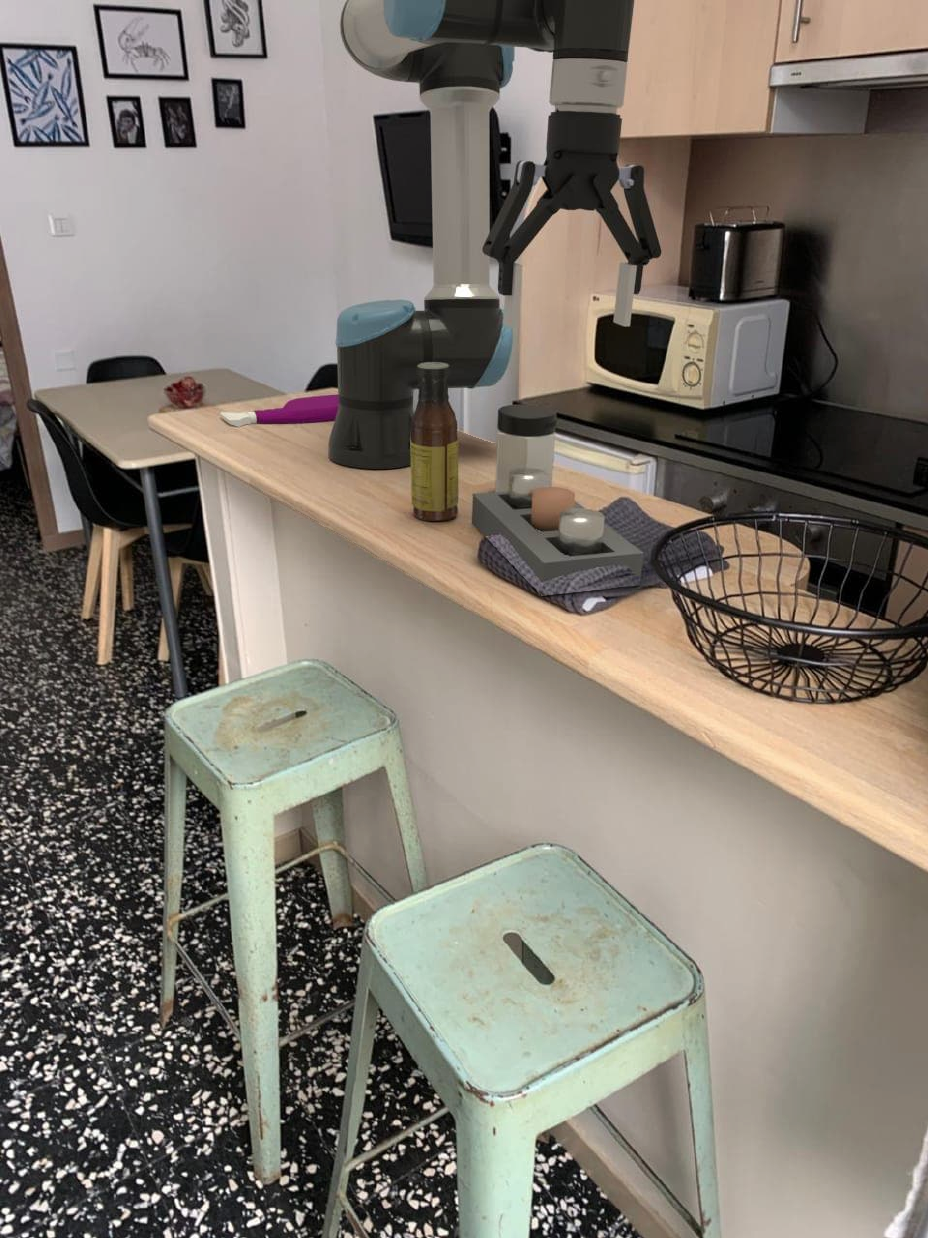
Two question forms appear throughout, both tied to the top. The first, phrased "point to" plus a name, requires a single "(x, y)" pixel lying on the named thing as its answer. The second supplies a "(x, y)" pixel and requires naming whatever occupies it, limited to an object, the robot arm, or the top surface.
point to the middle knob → (550, 507)
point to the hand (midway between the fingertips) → (567, 325)
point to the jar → (524, 441)
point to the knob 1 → (525, 486)
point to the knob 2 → (580, 532)
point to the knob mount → (547, 540)
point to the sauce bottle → (434, 447)
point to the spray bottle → (290, 412)
